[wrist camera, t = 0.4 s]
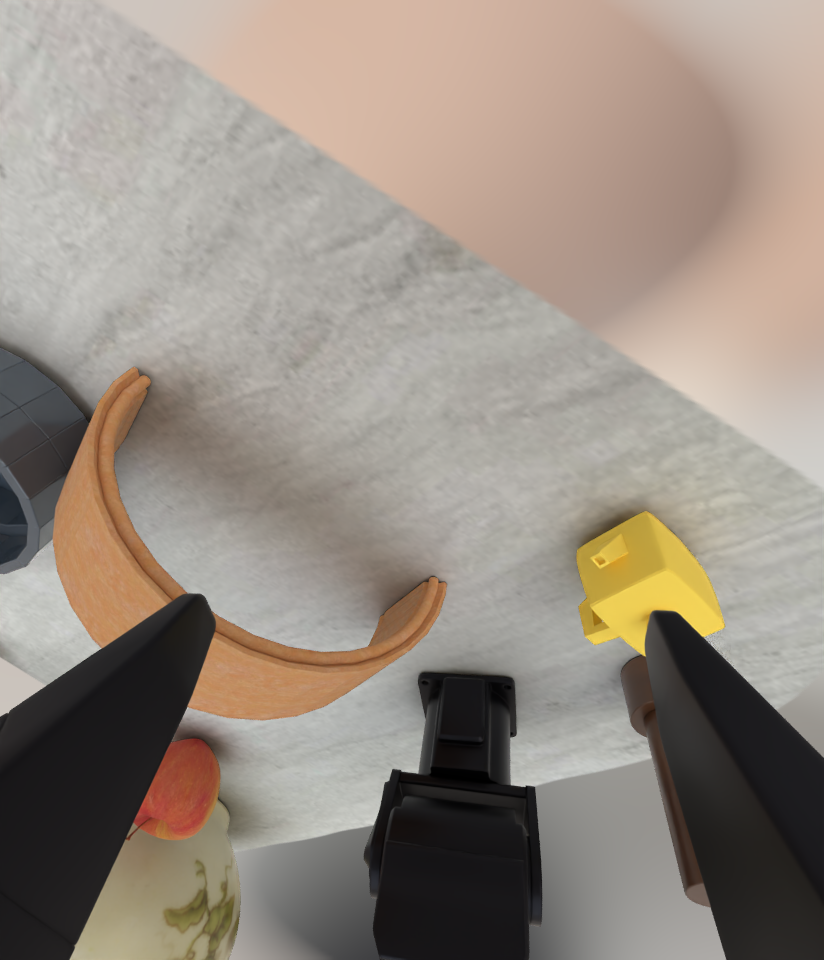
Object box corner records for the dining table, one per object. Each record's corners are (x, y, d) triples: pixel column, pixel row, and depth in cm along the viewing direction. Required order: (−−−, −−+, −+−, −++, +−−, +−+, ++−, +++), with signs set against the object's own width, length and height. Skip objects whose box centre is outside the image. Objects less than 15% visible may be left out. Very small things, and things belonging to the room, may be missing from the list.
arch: (388, 627, 32) (349, 794, 24) (99, 439, 27) (-79, 570, 18) (447, 584, 29) (426, 758, 21) (135, 363, 24) (-58, 479, 15)
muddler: (691, 698, 31) (766, 921, 22) (617, 693, 32) (661, 907, 23) (704, 653, 29) (794, 883, 20) (624, 650, 30) (675, 869, 21)
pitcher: (310, 818, 50) (168, 1279, 30) (223, 863, 63) (82, 1207, 42) (107, 716, 45) (-229, 1181, 25) (57, 787, 58) (-192, 1133, 38)
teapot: (528, 535, 26) (533, 610, 22) (625, 474, 23) (653, 548, 19) (619, 618, 28) (639, 701, 24) (718, 572, 25) (760, 657, 21)
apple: (230, 774, 47) (186, 874, 41) (157, 749, 47) (100, 847, 40) (242, 740, 43) (195, 846, 37) (161, 712, 43) (99, 815, 36)
